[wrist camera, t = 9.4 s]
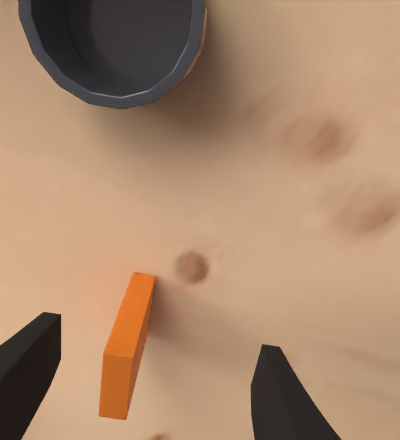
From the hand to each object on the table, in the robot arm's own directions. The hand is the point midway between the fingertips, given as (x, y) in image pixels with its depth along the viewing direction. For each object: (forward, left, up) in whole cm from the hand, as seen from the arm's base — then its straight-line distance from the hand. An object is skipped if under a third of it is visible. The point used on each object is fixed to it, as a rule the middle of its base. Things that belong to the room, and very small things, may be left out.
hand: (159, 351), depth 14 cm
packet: (+2, +5, -10) cm, 11 cm away
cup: (+4, -11, -10) cm, 15 cm away
